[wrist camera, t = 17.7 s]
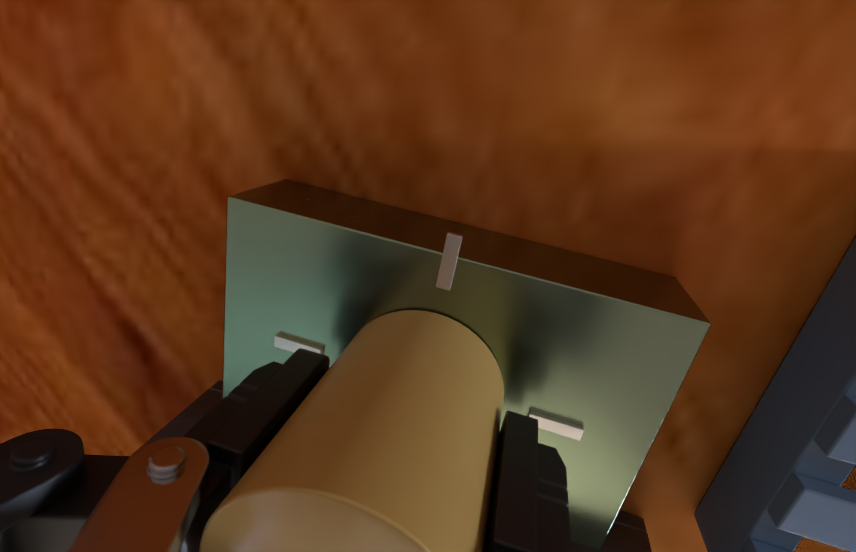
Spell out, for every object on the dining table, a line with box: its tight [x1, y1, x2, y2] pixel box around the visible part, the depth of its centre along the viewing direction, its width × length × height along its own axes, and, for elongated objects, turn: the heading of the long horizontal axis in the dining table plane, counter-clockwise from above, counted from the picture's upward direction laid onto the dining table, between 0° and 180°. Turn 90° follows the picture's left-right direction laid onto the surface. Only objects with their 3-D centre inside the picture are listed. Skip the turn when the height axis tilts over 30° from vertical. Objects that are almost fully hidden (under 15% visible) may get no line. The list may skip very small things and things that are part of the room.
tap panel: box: [223, 179, 711, 551], centre depth 14 cm, size 9×12×3 cm
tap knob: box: [199, 310, 504, 552], centre depth 10 cm, size 4×4×6 cm
